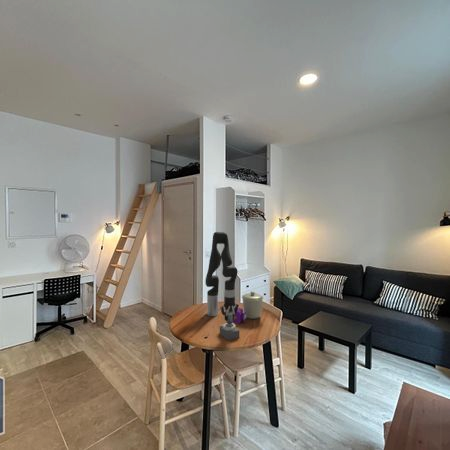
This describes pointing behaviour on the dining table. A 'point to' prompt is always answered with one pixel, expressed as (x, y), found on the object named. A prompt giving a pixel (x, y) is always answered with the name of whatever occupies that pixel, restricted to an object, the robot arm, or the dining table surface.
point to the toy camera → (239, 316)
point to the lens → (230, 317)
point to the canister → (252, 305)
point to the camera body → (229, 331)
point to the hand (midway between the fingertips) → (229, 319)
